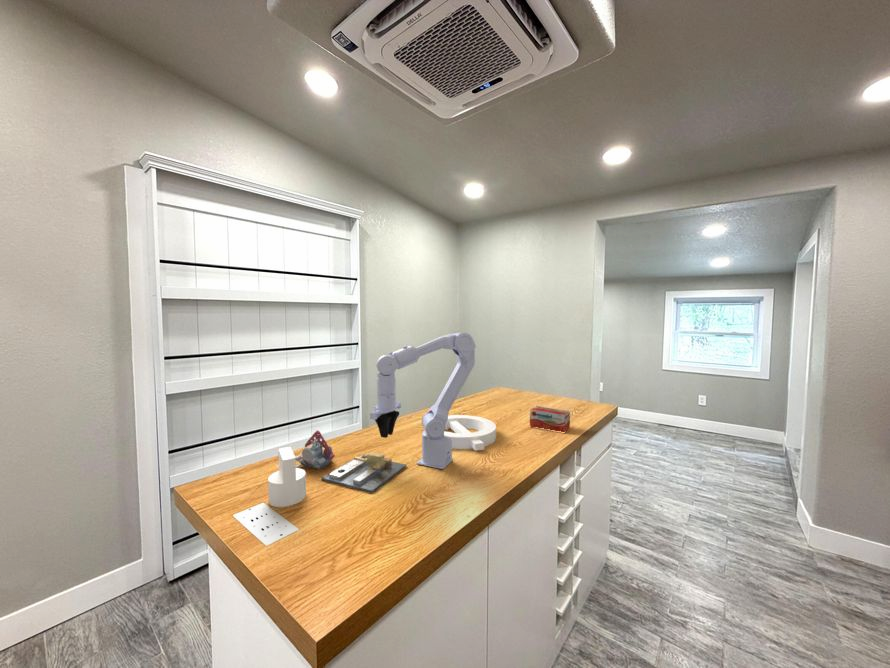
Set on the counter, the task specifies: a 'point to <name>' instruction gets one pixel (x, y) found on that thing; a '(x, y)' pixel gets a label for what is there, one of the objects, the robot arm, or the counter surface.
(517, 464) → the counter surface
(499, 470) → the counter surface
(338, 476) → the grey mechanism base plate
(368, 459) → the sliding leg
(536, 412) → the medicine box
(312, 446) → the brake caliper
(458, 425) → the white circle with bar
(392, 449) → the counter surface
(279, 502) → the base with upright slab
